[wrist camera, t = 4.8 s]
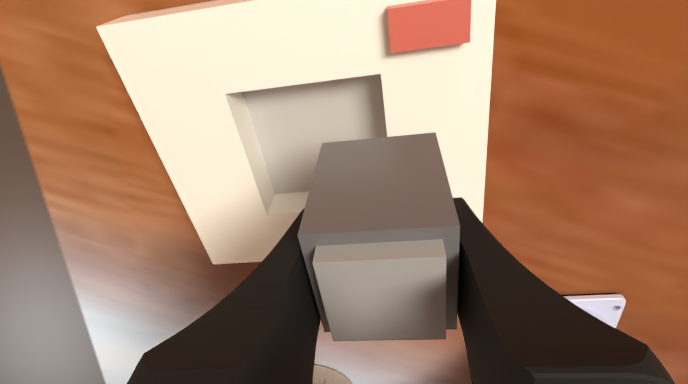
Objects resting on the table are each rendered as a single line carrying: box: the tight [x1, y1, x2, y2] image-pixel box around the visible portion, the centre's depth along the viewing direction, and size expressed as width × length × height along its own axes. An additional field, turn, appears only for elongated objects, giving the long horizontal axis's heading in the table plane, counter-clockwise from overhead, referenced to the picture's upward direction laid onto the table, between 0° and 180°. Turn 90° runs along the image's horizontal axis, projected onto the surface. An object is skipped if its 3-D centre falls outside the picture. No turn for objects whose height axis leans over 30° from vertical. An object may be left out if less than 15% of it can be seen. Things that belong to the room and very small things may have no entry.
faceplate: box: [96, 0, 496, 264], centre depth 19 cm, size 14×16×3 cm
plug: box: [298, 132, 460, 341], centre depth 12 cm, size 4×4×6 cm
